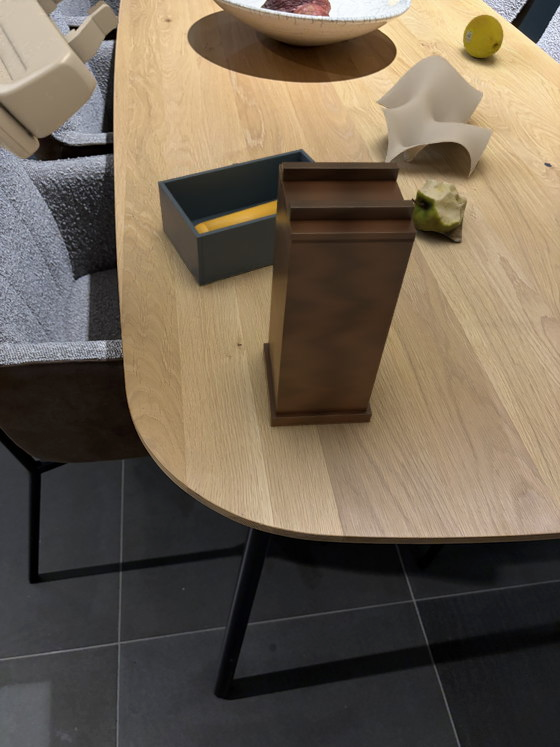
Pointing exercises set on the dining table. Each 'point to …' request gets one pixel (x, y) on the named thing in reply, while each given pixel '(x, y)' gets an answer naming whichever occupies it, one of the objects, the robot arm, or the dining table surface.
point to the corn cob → (238, 217)
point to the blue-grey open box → (220, 198)
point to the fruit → (439, 209)
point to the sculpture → (432, 111)
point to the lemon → (483, 36)
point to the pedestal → (333, 287)
